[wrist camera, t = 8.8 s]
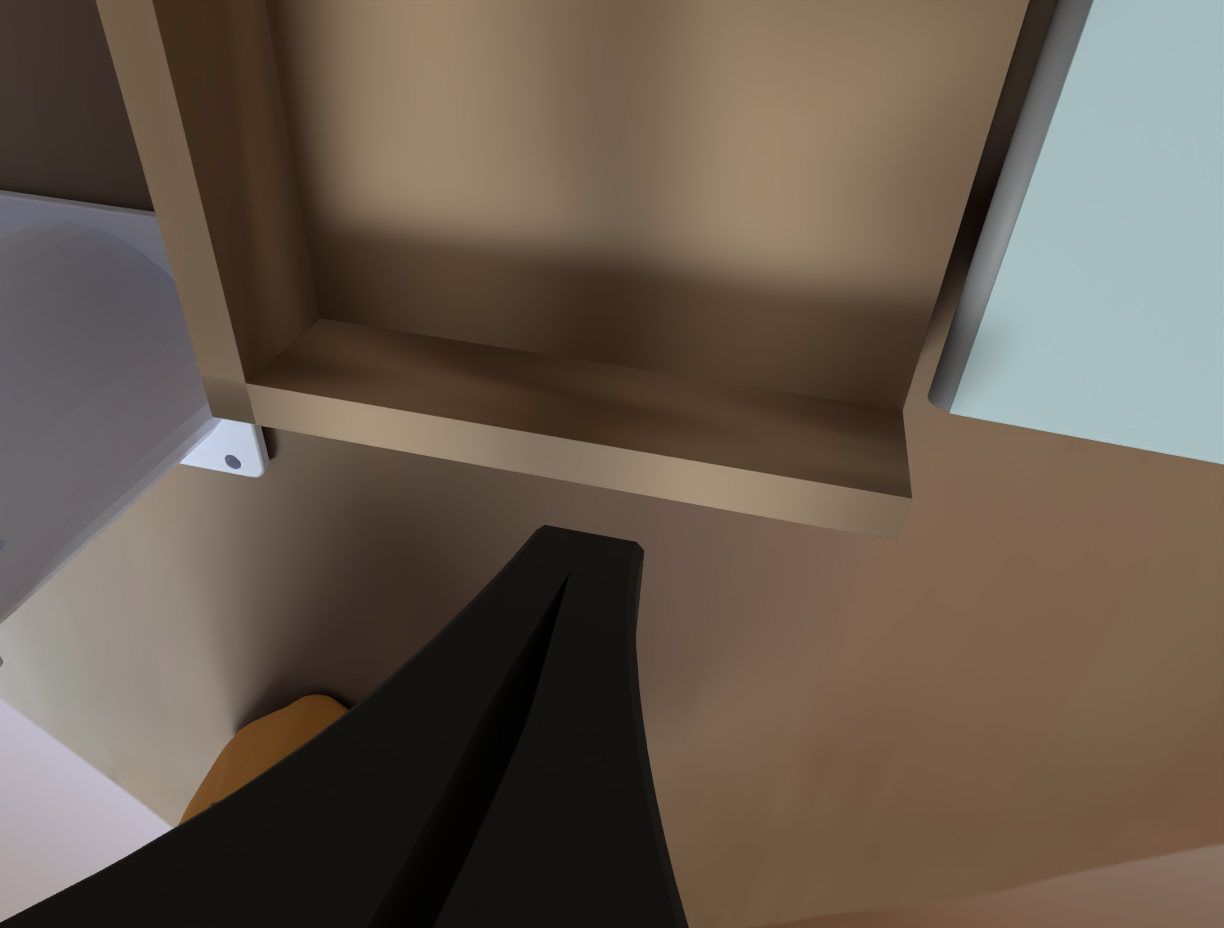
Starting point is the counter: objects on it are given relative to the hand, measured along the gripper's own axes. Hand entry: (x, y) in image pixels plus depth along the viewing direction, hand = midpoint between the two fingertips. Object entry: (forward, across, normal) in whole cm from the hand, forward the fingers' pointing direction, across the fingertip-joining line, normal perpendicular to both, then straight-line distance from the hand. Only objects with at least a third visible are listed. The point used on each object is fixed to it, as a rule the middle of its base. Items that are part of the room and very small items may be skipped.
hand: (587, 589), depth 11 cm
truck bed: (+10, +2, -4) cm, 11 cm away
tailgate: (+8, -6, -4) cm, 10 cm away
